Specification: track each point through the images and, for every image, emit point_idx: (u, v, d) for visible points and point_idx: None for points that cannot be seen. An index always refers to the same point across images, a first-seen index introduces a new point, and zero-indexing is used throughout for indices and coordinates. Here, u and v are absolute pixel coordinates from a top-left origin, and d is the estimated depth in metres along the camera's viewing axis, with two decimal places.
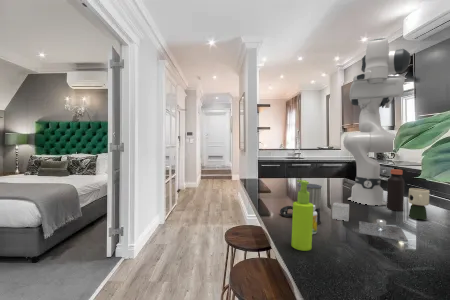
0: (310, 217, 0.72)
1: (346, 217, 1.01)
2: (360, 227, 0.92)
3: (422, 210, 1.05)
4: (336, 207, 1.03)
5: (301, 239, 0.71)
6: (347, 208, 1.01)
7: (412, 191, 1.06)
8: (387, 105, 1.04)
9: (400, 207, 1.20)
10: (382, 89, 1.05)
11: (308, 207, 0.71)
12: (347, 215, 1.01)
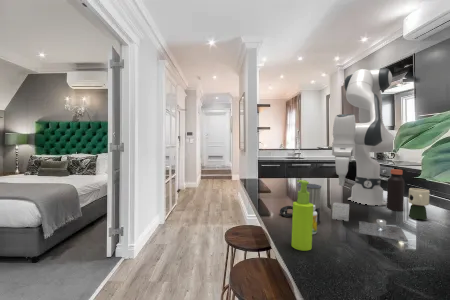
0: (310, 217, 0.72)
1: (346, 217, 1.01)
2: (360, 227, 0.92)
3: (422, 210, 1.05)
4: (336, 207, 1.03)
5: (301, 239, 0.71)
6: (347, 208, 1.01)
7: (412, 191, 1.06)
8: (344, 181, 1.08)
9: (400, 207, 1.20)
10: None
11: (308, 207, 0.71)
12: (347, 215, 1.01)
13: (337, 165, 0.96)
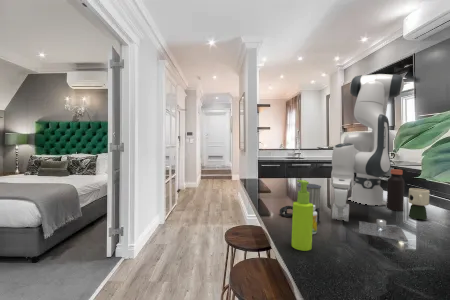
0: (310, 217, 0.72)
1: (346, 217, 1.01)
2: (360, 227, 0.92)
3: (422, 210, 1.05)
4: (336, 207, 1.03)
5: (301, 239, 0.71)
6: (347, 208, 1.01)
7: (412, 191, 1.06)
8: None
9: (400, 207, 1.20)
10: None
11: (308, 207, 0.71)
12: (347, 215, 1.01)
13: (336, 197, 0.97)
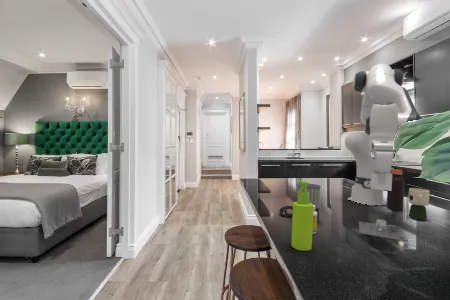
0: (310, 217, 0.72)
1: (389, 186, 0.87)
2: (360, 227, 0.92)
3: (422, 210, 1.05)
4: (376, 175, 0.88)
5: (301, 239, 0.71)
6: (390, 175, 0.86)
7: (412, 191, 1.06)
8: None
9: (400, 207, 1.20)
10: None
11: (308, 207, 0.71)
12: (390, 183, 0.86)
13: (379, 161, 0.82)
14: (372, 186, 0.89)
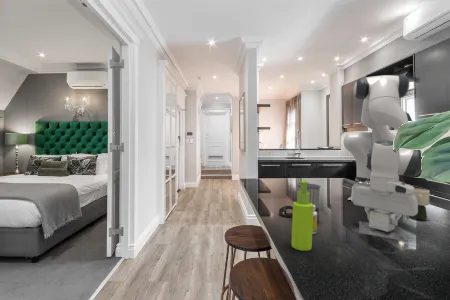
0: (310, 217, 0.72)
1: None
2: (360, 227, 0.92)
3: (422, 210, 1.05)
4: (390, 216, 0.87)
5: (301, 239, 0.71)
6: (394, 214, 0.89)
7: None
8: None
9: None
10: None
11: (308, 207, 0.71)
12: None
13: (415, 205, 0.82)
14: (388, 228, 0.86)
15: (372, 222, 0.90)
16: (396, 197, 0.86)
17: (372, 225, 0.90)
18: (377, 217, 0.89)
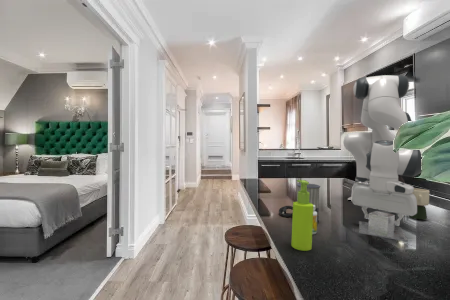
0: (310, 217, 0.72)
1: (393, 226, 0.89)
2: (360, 227, 0.92)
3: (422, 210, 1.05)
4: (389, 218, 0.87)
5: (301, 239, 0.71)
6: (394, 216, 0.89)
7: None
8: None
9: None
10: None
11: (308, 207, 0.71)
12: None
13: (414, 205, 0.82)
14: (387, 231, 0.86)
15: (371, 224, 0.90)
16: (395, 197, 0.86)
17: (371, 227, 0.90)
18: (376, 219, 0.89)
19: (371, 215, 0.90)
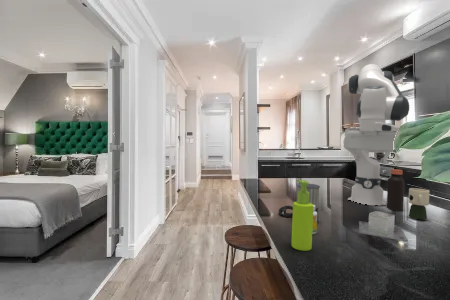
0: (310, 217, 0.72)
1: (393, 226, 0.89)
2: (360, 227, 0.92)
3: (422, 210, 1.05)
4: (389, 218, 0.87)
5: (301, 239, 0.71)
6: (394, 216, 0.89)
7: (412, 191, 1.06)
8: None
9: (400, 207, 1.20)
10: None
11: (308, 207, 0.71)
12: (393, 224, 0.90)
13: None
14: (387, 231, 0.86)
15: (371, 224, 0.90)
16: (382, 136, 0.94)
17: (371, 227, 0.90)
18: (376, 219, 0.89)
19: (371, 215, 0.90)
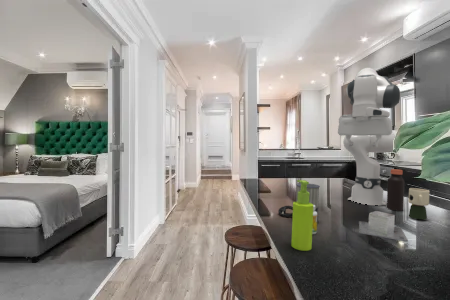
0: (310, 217, 0.72)
1: (393, 226, 0.89)
2: (360, 227, 0.92)
3: (422, 210, 1.05)
4: (389, 218, 0.87)
5: (301, 239, 0.71)
6: (394, 216, 0.89)
7: (412, 191, 1.06)
8: None
9: (400, 207, 1.20)
10: None
11: (308, 207, 0.71)
12: (393, 224, 0.90)
13: (389, 125, 0.95)
14: (387, 231, 0.86)
15: (371, 224, 0.90)
16: (373, 121, 0.99)
17: (371, 227, 0.90)
18: (376, 219, 0.89)
19: (371, 215, 0.90)
